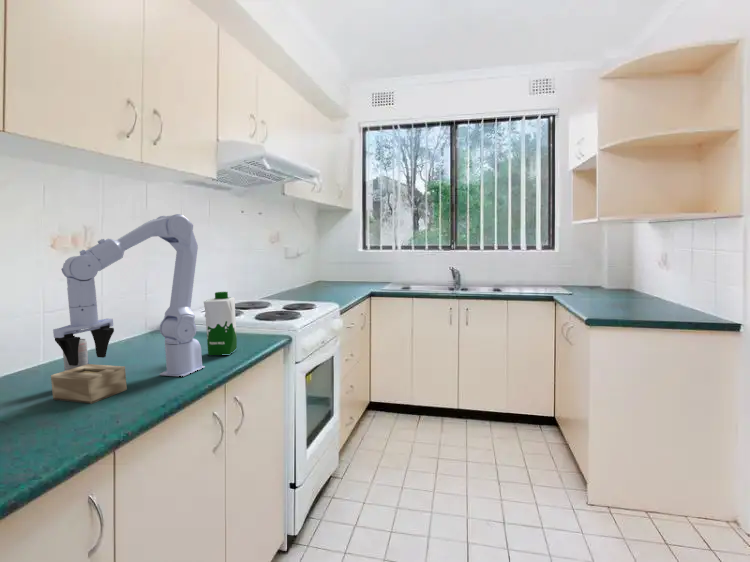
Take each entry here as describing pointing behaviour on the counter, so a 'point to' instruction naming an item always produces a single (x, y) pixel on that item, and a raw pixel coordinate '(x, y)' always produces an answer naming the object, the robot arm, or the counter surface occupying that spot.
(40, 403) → the counter surface
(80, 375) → the box
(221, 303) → the milk carton
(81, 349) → the energy drink
